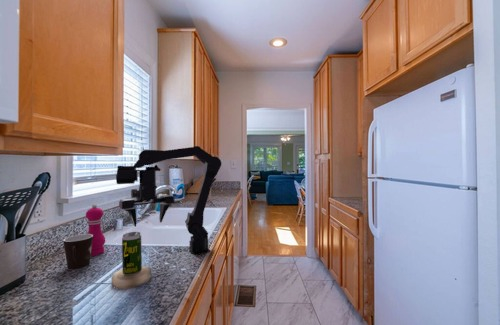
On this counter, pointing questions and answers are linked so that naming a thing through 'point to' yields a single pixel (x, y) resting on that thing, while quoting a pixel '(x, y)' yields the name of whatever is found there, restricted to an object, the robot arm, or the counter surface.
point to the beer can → (131, 254)
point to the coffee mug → (78, 250)
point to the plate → (131, 279)
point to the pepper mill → (95, 229)
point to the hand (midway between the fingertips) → (148, 224)
